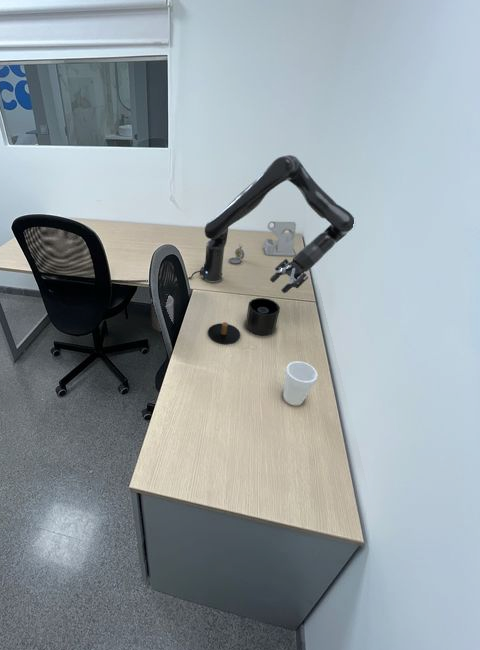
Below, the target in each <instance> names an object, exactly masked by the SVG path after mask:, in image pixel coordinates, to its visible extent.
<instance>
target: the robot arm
mask: <svg viewBox="0 0 480 650" xmlns="http://www.w3.org/2000/svg"><path fill="white" fill-rule="evenodd" d="M287 181H288V182H289V183H291V184H292V185H294V186H295V187H296V188H297V189H298V190H299V191H300V193H301V194H302V197H303V199H304V200H305V202H306V203H307V205H308V206H309V207H310V208H311V210H313V212H315V213H316V215H318V217H320V218H321V219H325V220H326V221H327V222H329V224H330V225H329V226H327V227H326V229H325V230H323V232H321V233H318V235H317V236H316V237H314V239H312V240H311V242H309V243H308V244H307V245H305V246H304V247H303V248H302V249H301V250H299V252H298V253H297V254H295V255H294V256H293V258H292V260H291V261H289V259H287V258H285V259H284V260H283V261H281V262H280V263H279V264H278V265H277V266H276V267H275V268H274V270H275V273H274V274H273V275H272V276H270V279H269V281H270V282H272V283H275V282H276V281H278V279H279V278H280V277H281V276H286V275H287V276H288V277H289V283H287V284H285V286H284V287H282V288H281V289H280V290H281V292H282V293H283V294H286V293H288V292H290V290H291V289H292V288H296V289H299V288H300V287H301V286H302V285H303V284H304V283H305V282H306V281H307V280H308V279H309V276H308V275H307V274H306V273H307V272H308V271H310V270H311V269H312V268H313V267H314V266H315V265H316V264H317V263H319V261H320V260H321V259H322V258H323V257H324V256H325V255H326V254H327V253H328V252H329V251H330V250H331V249H333V248H334V246H335V245H336V244H338V242H339V241H340V240H342V239H343V238H344V237H345V236H347V235H348V234H349V233H350V232H351V231H352V230H353V229H352V228H354V227H353V224H354V219H355V217H354V215H353V214H352V213H351V212H349V210H347V209H345V207H342V206H341V205H340V204H338V203H337V202H336V201H335V200H334V199H333V198H332V197H331V196H330V195H329V194H328V193H327V192H325V190H324V189H323V188H322V187H320V185H319V184H318V183H317V182H316V181H315V180H314V178H313V177H312V176H311V175H310V174H309V172H308V171H307V170H306V168H305V166H304V165H303V163H301V161H300V159H299V158H298V157H297V156H295V155H292V154H287V155H282V156H279V157H277V158H276V159H274V161H272V162H271V164H270V165H268V166H267V168H266V169H265V170H264V172H263V173H262V174H261V175H260V176H259V177H258V178H257V179H255V180H254V181H253V182H251V184H249V185H248V186H247V187H246V188H244V189H243V190H242V191H241V192H240V193H239V194H238V195H237V196H236V197H235V198H233V200H232V201H230V202H229V204H228V205H227V206H226V207H225V208H224V209H223V210H222V211H221V212H220V213H219V214H218V215H217V216H215V217H214V218H213V219H211V220H210V221H208V222H207V223H206V224H205V226H204V235H205V237H206V238H207V239H208V241H207V242H206V245H205V259H204V263H203V266H201V267H200V270H197V271H195V272H193V273H192V274H191V276H189V277H187V278H188V279H187V280H190V279H192V278H193V277H194V275H196V274H197V273H199V276H202V280H204V281H206V282H208V283H219V282H220V281H221V280H222V276H223V265H224V255H225V247H226V245H227V241H228V234H229V228H230V227H231V226H232V225H234V224H235V223H236V222H239V221H240V220H241V219H243V218H245V217H246V216H248V215H249V214H250V213H251V212H253V211H254V210H255V209H256V208H257V207H258V206H259V205H260V204H261V203H262V202H263V200H264V199H265V198H266V196H267V195H268V193H270V192H271V191H272V190H274V189H275V188H276V187H278V186H279V185H281V184H282V183H285V182H287ZM349 231H350V232H349ZM348 232H349V233H348ZM347 233H348V234H347ZM111 280H112V281H111V282H123V283H124V282H125V283H127V282H128V283H137V282H139V283H140V282H141V283H142V282H149V281H148V280H149V279H140V280H139V279H137V280H136V279H135V280H133V279H131V280H130V279H129V280H126V279H111ZM146 280H147V281H146Z"/></svg>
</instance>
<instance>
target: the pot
mask: <svg viewBox="0 0 480 650" xmlns="http://www.w3.org/2000/svg"><path fill="white" fill-rule="evenodd" d="M259 307H265V308H267V309H268V310H269V313H268V314H262V313H258V312H257V310H258V308H259ZM280 311H281V307H280V305H279V304H278V303H277V302H276V301H274V300H272V299H271V298H265V297H257V298H253V299H251V300H249V302H248V306H247V312H246V317H245V323H244V327H245V330H246V331H248V332H249V333H250V334H252V335H255V336H257V337H258V336H260V337H267V336H271V335H273V334H274V333H275V331H276V327H277V323H278V320H279V315H280Z"/></svg>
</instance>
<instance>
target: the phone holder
mask: <svg viewBox="0 0 480 650" xmlns="http://www.w3.org/2000/svg"><path fill="white" fill-rule="evenodd" d="M270 224H273V225H272V227H271V226H270ZM267 229H268V230H269V231H270V232H272V234H274V235H275V236H277V245H276V243H275V240H274V239H272V238H267V239H265V243H264V249H263V250H264V252H265V255H267V256H283V257H284V256H288V257H295V256H296V253H295V251H294V244H295V239H296V237H295V236H296V229H297V223H296V222H295V221H278V220H277V221H273V220H272V221H269V222H268V223H267ZM286 231H288V233H287V234H285V232H286Z"/></svg>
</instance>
